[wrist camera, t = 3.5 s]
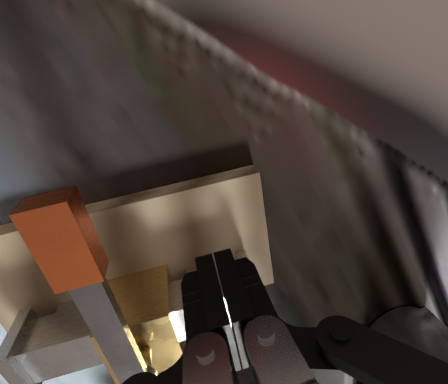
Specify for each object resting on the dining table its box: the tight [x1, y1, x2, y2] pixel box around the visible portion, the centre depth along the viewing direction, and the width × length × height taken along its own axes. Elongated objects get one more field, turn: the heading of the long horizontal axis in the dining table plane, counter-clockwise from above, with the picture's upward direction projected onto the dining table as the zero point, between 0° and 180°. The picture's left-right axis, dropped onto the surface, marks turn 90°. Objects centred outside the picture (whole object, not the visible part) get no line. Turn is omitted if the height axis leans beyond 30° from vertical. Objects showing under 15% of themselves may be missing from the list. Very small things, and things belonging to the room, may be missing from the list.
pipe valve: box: [0, 250, 249, 384], centre depth 26 cm, size 21×6×8 cm, turn 100°
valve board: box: [0, 165, 274, 333], centre depth 29 cm, size 26×13×2 cm, turn 100°
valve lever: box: [9, 186, 158, 384], centre depth 19 cm, size 17×3×2 cm, turn 10°
